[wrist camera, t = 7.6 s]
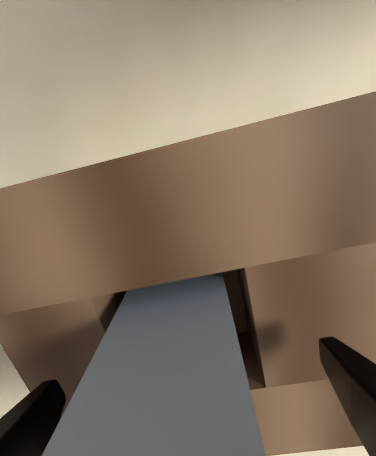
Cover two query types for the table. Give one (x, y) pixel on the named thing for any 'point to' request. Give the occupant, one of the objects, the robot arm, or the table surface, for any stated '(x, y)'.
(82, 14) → the table surface
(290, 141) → the mortise block
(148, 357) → the tenon peg
